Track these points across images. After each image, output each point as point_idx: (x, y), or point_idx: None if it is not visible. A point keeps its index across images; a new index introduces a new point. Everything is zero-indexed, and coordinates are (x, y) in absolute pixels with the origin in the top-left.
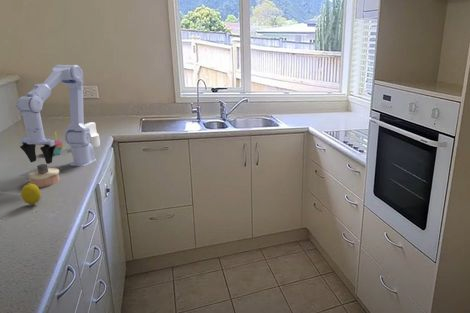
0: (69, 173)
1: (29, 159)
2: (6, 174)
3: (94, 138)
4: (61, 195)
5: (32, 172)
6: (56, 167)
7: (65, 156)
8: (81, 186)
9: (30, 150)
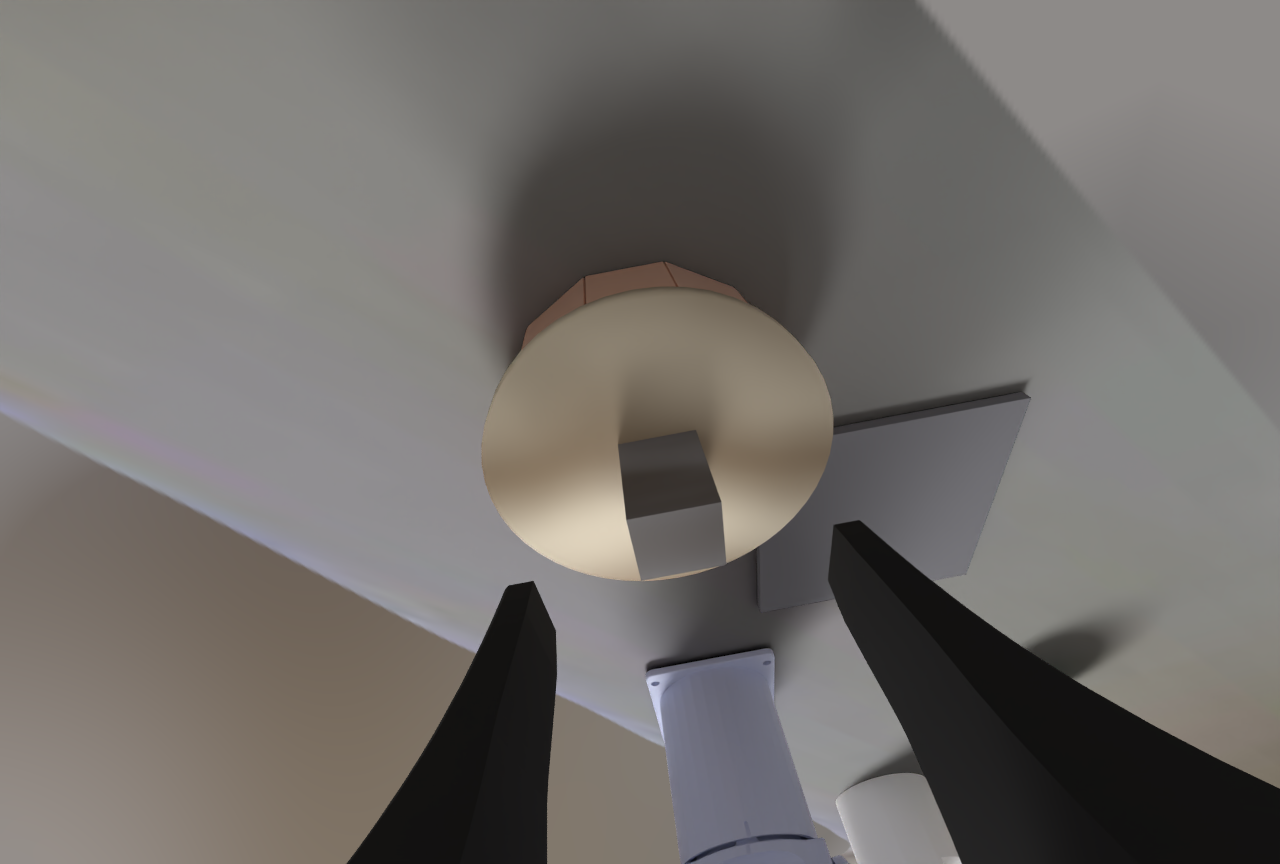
0: (639, 583)
1: (889, 552)
2: (1194, 364)
3: (865, 859)
4: (103, 250)
5: (802, 418)
6: (824, 599)
7: None
8: (240, 483)
9: (972, 763)
